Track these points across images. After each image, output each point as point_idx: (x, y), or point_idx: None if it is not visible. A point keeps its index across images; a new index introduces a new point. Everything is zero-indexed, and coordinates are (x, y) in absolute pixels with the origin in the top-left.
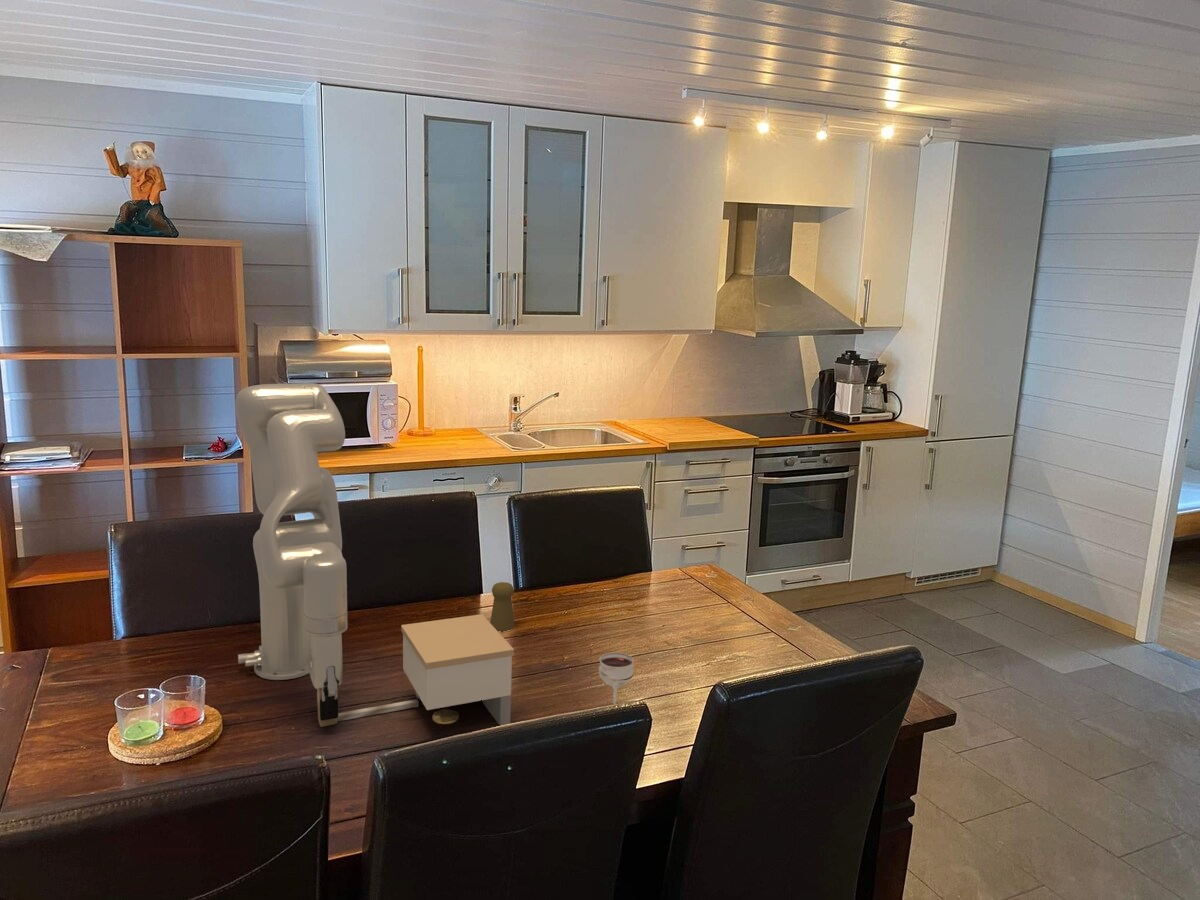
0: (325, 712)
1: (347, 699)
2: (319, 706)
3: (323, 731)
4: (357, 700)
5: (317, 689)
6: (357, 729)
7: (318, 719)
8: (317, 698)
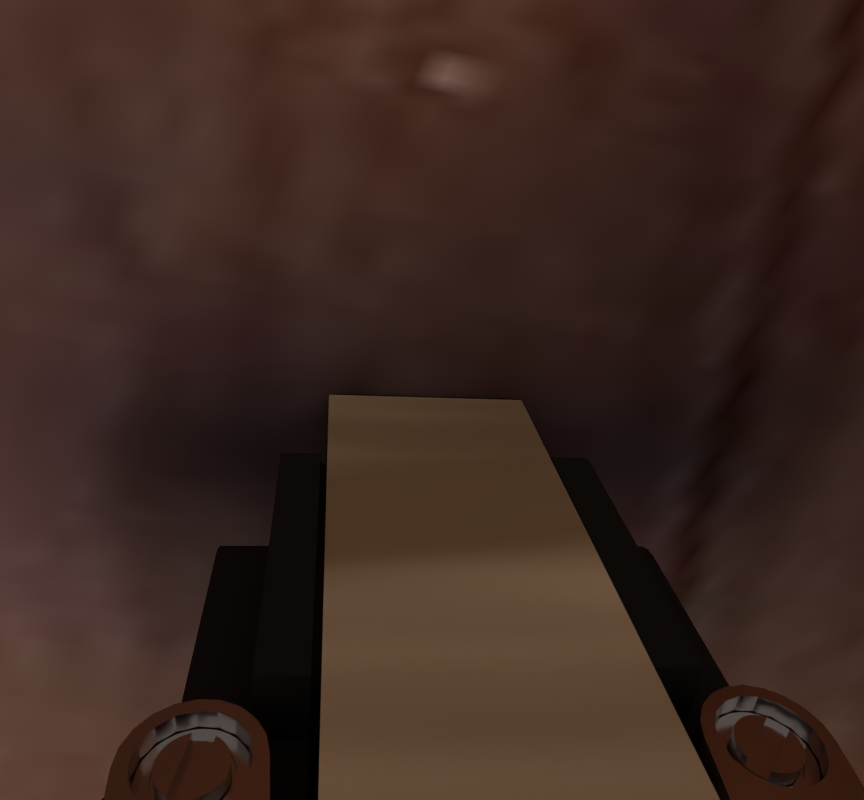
0: (213, 583)
1: (768, 682)
2: (343, 560)
3: (208, 407)
4: None
5: (612, 751)
6: (141, 688)
7: (483, 407)
8: (590, 583)
